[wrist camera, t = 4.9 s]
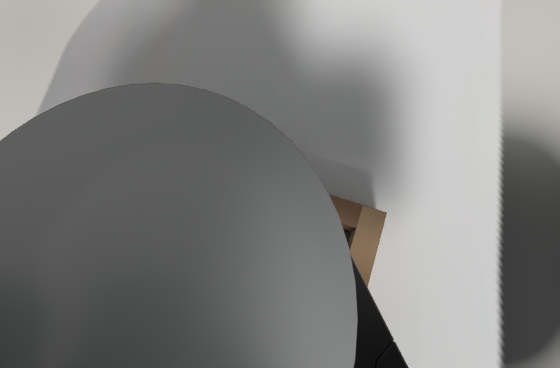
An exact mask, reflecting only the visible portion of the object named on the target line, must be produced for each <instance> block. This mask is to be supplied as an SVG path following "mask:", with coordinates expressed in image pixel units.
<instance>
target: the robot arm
mask: <svg viewBox="0 0 560 368" xmlns="http://www.w3.org/2000/svg"><path fill="white" fill-rule="evenodd" d="M350 256H351V254H350ZM351 261H352V266H353V272H354V277H355V283H356V301H357V318H358V322H357V338H356V353H355V363H354V368H409V367H408V366H407V364H406V362H405V360H404V358H403V356H402V354H401V352H400V350H399V348H398V346H397V344H396V343H395V342H393V341H394V339H393V337H392V335H391V333H390V331H389V329H388V327H387V325H386V323H385V321H384V319H383V317H382V315H381V313H380V311H379V309H378V307H377V305H376V303H375V301H374V299H373V297H372V296H371V294H370V292H369V290H368V288H367V286H366V284H365V282H364V280H363V278H362V276H361V274H360V272H359V270H358V268H357V266H356V264H355V262H354V260H353V258H352V256H351Z"/></svg>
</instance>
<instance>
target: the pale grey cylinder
mask: <svg viewBox="0 0 560 368" xmlns="http://www.w3.org/2000/svg"><path fill="white" fill-rule="evenodd" d="M357 322H358V318H357V301H356V283H355V277H354V272H353V266H352V261H351V256H350V250H349V246H348V243H347V240H346V236H345V233H344V230H343V227H342V224H341V221H340V218H339V215H338V213H337V211H336V209H335V206H334V204H333V202H332V200H331V198H330V196H329V194H328V191H327V189H326V187H325V186H324V184H323V183H322V181H321V179H320V178H319V176H318V175H317V173H316V172H315V170H314V169H313V167H312V165H311V164H310V162H309V161H308V160H307V159H306V158H305V156H304V155H303V154H302V153H301V152H300V151H299V149H298V148H297V147H296V146H295V145H294V144H293V142H292V141H291V140H290V139H289V138H287V137H286V136H285V135H284V134H283V133H282V132H281V131H280V130H278V129H277V128H276V127H275V126H274V125H273V124H272V123H270V122H269V121H267V120H266V119H265V118H263V117H262V116H260V115H259V114H257V113H256V112H254V111H253V110H251V109H250V108H248V107H246V106H244V105H241V104H239V103H237V102H235V101H233V100H231V99H229V98H227V97H224V96H221V95H218V94H215V93H212V92H209V91H206V90H203V89H198V88H193V87H188V86H183V85H174V84H160V83H150V84H131V85H125V86H119V87H113V88H107V89H103V90H99V91H96V92H92V93H89V94H85V95H82V96H79V97H77V98H74V99H72V100H69V101H67V102H64V103H62V104H59V105H57V106H55V107H53V108H51V109H49V110H47V111H45V112H44V113H42V114H40V115H38V116H36V117H34V118H33V119H31V120H29V121H28V122H26V123H25V124H23V125H22V126H20V127H19V128H17V129H16V130H14V131H12V132H11V133H10V134H9V135H8V136H6V137H5V138H4V139H2V140H1V141H0V368H354V363H355V353H356V338H357Z"/></svg>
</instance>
